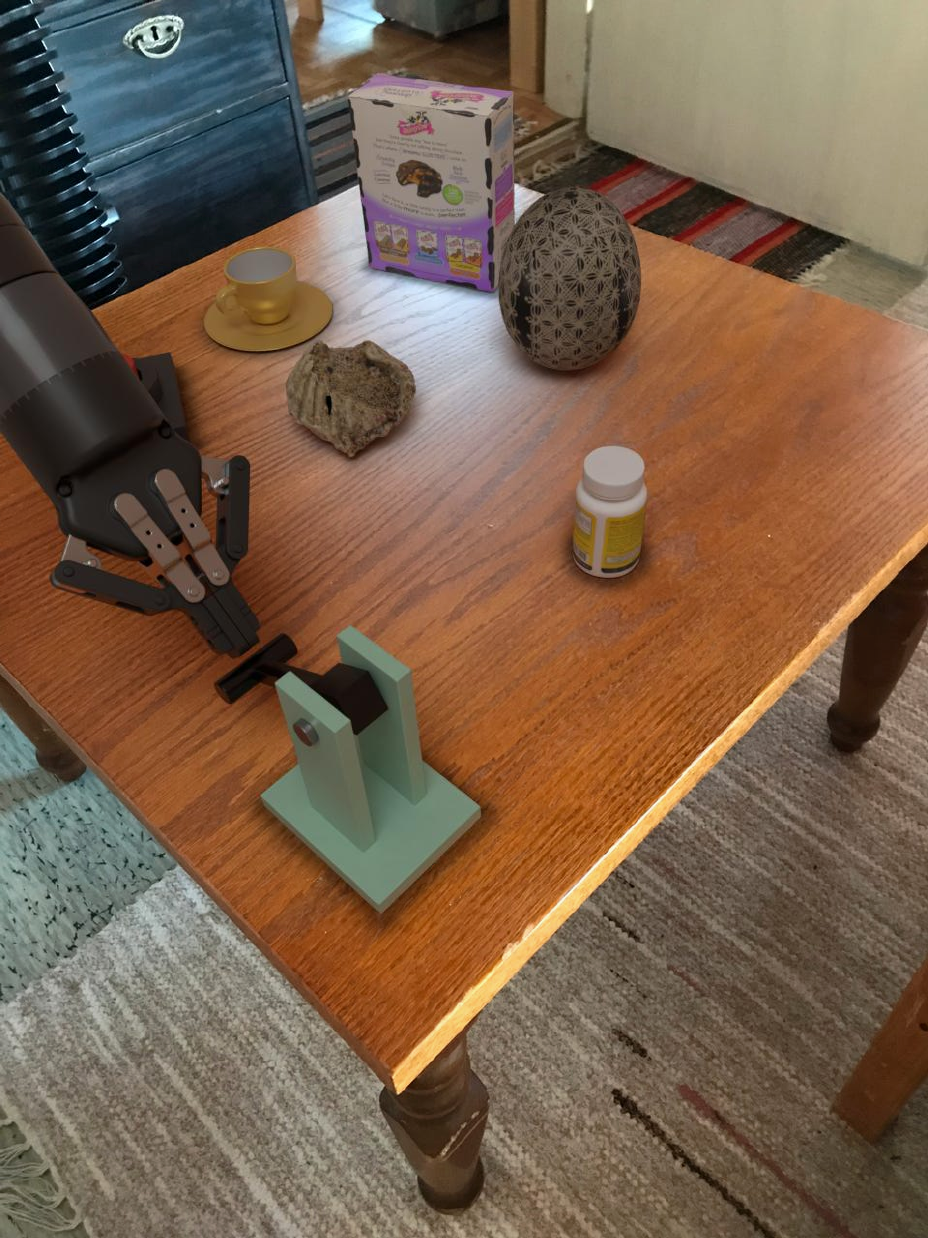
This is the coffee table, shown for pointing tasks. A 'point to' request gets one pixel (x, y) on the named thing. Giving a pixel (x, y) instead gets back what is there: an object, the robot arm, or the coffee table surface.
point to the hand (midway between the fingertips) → (246, 649)
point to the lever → (307, 682)
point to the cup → (265, 303)
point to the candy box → (435, 177)
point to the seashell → (349, 393)
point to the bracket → (366, 783)
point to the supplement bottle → (609, 512)
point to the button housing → (164, 389)
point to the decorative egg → (569, 279)
